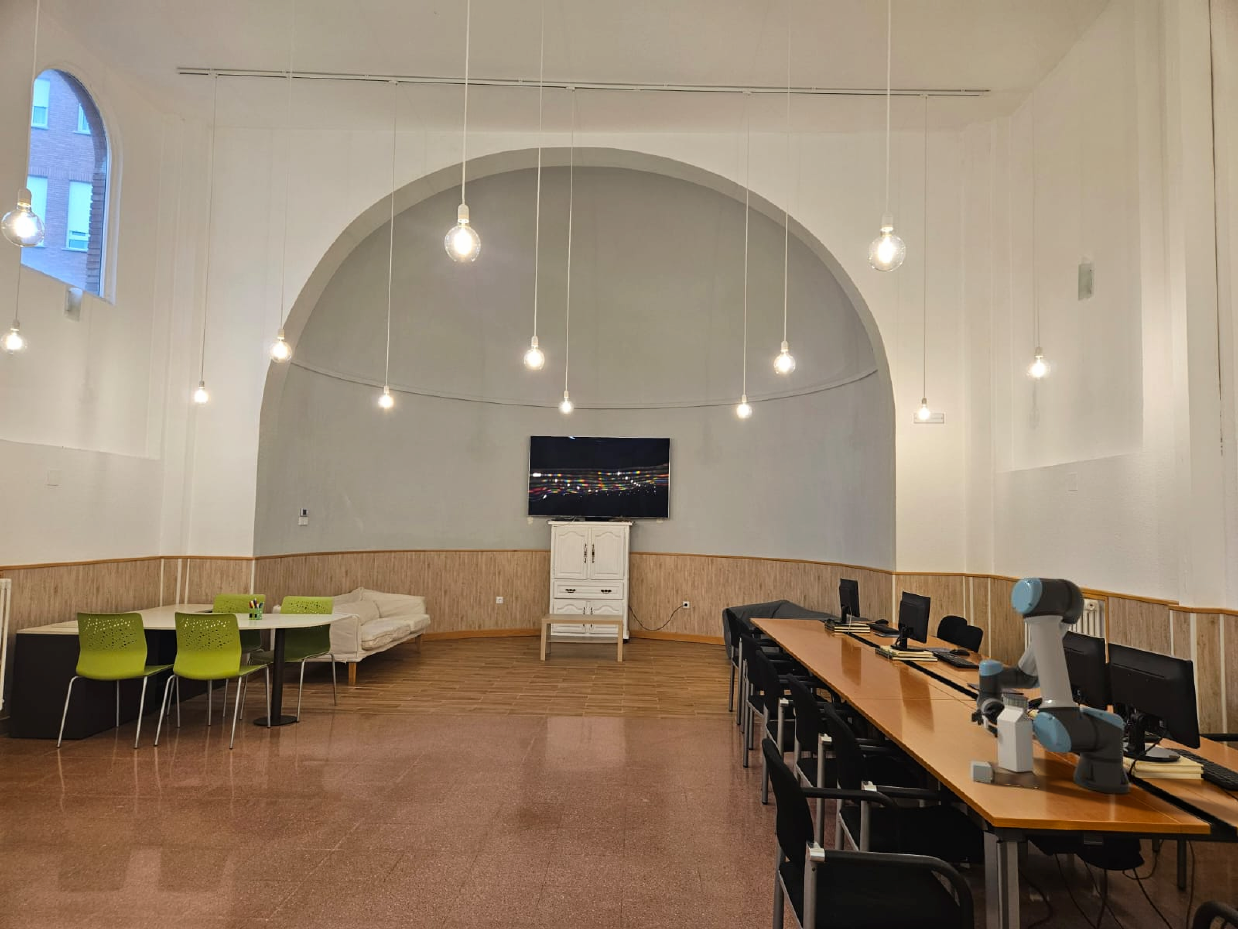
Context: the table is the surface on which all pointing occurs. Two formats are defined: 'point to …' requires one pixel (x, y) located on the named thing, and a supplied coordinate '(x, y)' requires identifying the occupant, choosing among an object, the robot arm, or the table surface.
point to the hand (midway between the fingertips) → (1009, 726)
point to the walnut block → (1012, 776)
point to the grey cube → (980, 771)
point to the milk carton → (1015, 740)
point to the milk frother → (1011, 701)
